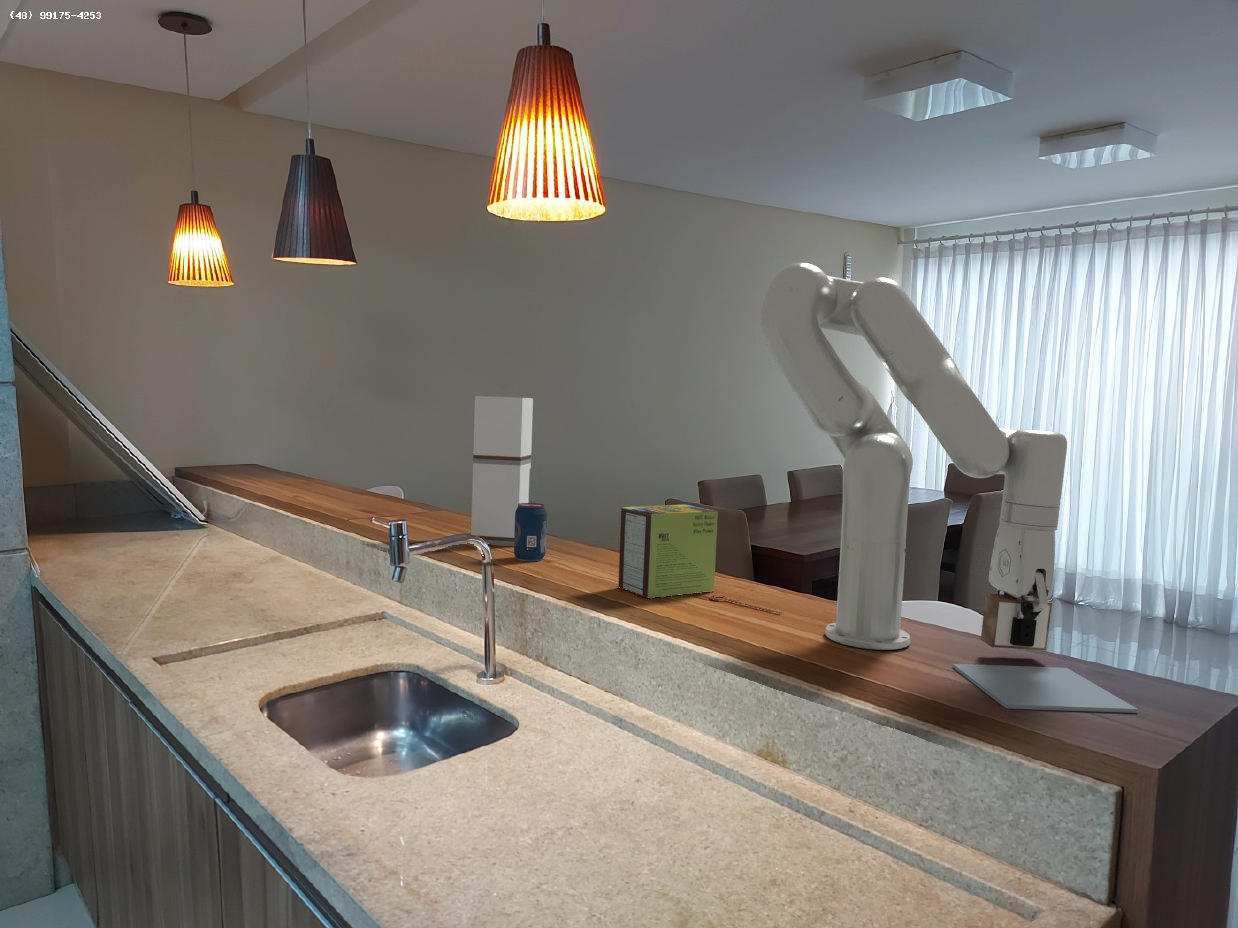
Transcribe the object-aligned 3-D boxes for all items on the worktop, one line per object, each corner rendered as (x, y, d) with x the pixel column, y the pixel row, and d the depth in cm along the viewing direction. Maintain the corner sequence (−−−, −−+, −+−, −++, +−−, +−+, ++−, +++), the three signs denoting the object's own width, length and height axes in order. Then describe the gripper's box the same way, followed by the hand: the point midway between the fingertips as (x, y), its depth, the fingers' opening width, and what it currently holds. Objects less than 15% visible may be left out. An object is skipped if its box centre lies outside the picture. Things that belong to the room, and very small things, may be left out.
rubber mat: (952, 667, 119) (952, 663, 119) (1066, 671, 119) (1066, 667, 119) (1006, 708, 103) (1006, 704, 103) (1137, 712, 103) (1137, 708, 103)
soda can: (512, 555, 189) (514, 502, 189) (543, 556, 191) (545, 502, 190) (514, 561, 183) (516, 506, 182) (546, 562, 184) (548, 506, 183)
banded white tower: (528, 539, 212) (533, 398, 210) (517, 546, 202) (522, 397, 199) (483, 536, 213) (487, 396, 211) (470, 543, 203) (475, 395, 200)
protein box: (715, 592, 161) (719, 510, 160) (647, 599, 153) (651, 513, 152) (682, 581, 170) (685, 503, 169) (616, 587, 162) (619, 506, 160)
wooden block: (980, 639, 126) (985, 593, 126) (1034, 643, 126) (1039, 596, 126) (992, 647, 122) (997, 599, 122) (1047, 650, 123) (1052, 603, 122)
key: (793, 615, 148) (725, 598, 159) (793, 610, 148) (726, 593, 159) (773, 617, 144) (705, 599, 155) (774, 612, 144) (705, 594, 155)
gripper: (978, 506, 131) (964, 623, 133) (1031, 523, 114) (1015, 656, 116) (1026, 510, 131) (1012, 626, 133) (1087, 527, 115) (1070, 660, 116)
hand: (1014, 639), depth 124 cm, fingers closed on wooden block, 3 cm apart
